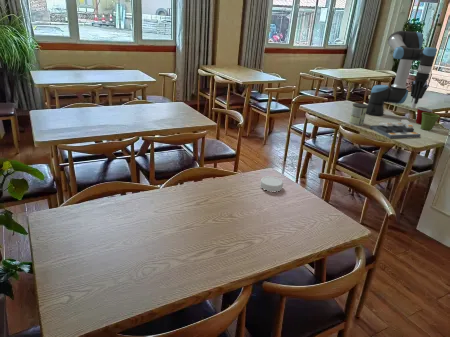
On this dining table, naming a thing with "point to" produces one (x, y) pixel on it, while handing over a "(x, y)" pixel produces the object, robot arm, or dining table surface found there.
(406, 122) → the switch
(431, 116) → the plant pot
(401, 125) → the switch middle
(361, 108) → the coffee can
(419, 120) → the plastic cup
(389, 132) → the switch panel
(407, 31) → the robot arm
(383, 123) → the switch
